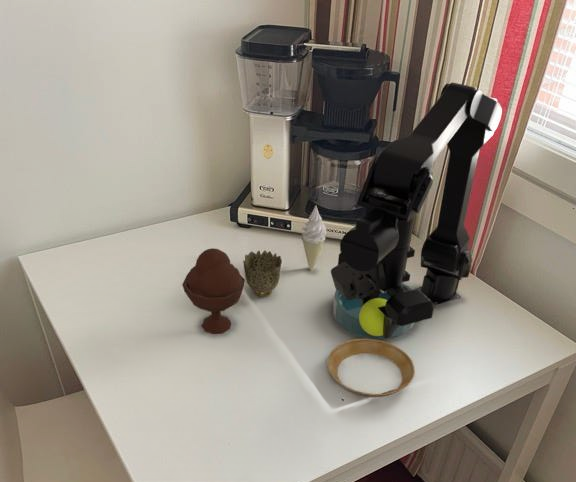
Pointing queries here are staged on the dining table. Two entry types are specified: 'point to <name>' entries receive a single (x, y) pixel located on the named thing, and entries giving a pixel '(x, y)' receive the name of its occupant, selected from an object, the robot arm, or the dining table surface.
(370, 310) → the ball
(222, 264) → the ice cream bowl
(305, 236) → the ice cream cone
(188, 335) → the dining table surface
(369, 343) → the plant saucer
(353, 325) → the glazed bowl
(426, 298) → the robot arm
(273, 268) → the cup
